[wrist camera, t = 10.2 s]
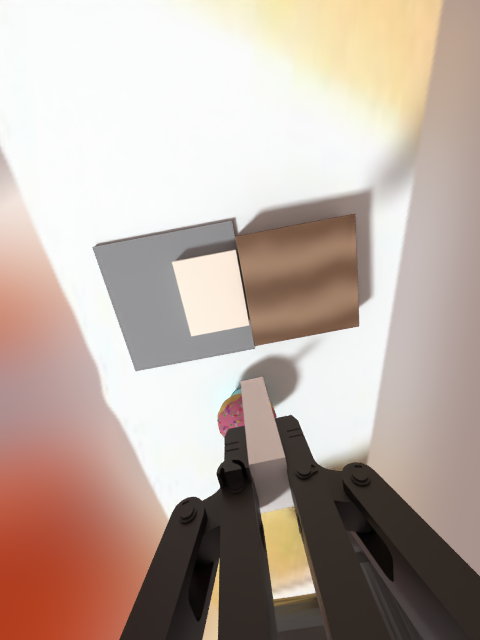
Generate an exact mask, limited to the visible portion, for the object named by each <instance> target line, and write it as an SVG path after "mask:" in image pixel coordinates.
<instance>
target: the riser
mask: <svg viewBox="0 0 480 640" xmlns="http://www.w3.org/2000/svg"><path fill="white" fill-rule="evenodd" d="M235 240H236V245H237V251H238V257H239V262H240V268H241V274H242V279H243V285H244V290H245V296H246V302H247V307H248V313H249V319H250V324H251V330H252V336H253V339H254V343H255V346H258V345H263V344H268V343H273V342H279V341H284V340H289V339H295V338H300V337H305V336H310V335H316V334H321V333H326V332H332V331H337V330H342V329H348V328H353V327H358V326H359V305H358V277H357V249H356V220H355V214H351V215H346V216H341V217H335V218H330V219H325V220H319V221H314V222H309V223H304V224H298V225H293V226H288V227H283V228H277V229H272V230H267V231H262V232H256V233H251V234H246V235H241V236H236V237H235Z"/></svg>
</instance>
